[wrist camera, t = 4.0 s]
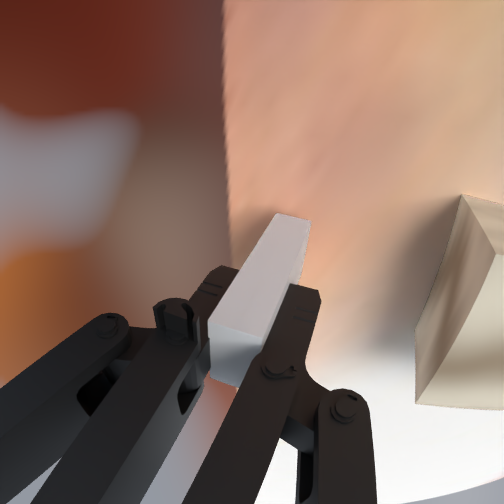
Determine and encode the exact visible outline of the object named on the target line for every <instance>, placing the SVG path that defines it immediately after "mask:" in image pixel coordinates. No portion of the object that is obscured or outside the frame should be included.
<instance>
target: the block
mask: <svg viewBox="0 0 504 504" xmlns="http://www.w3.org/2000/svg"><path fill="white" fill-rule="evenodd" d="M414 332H415V364H416V386H415V404H421V405H430V406H440V407H451V408H464V409H480V410H504V205H502V204H498V203H494V202H491V201H487V200H483V199H479V198H476V197H472V196H468V195H464V194H462V195H461V199H460V203H459V207H458V211H457V214H456V218H455V221H454V225H453V228H452V232H451V235H450V238H449V241H448V244H447V248H446V251H445V254H444V257H443V260H442V262H441V265H440V268H439V271H438V274H437V276H436V279H435V282H434V285H433V287H432V290H431V292H430V295H429V297H428V300H427V302H426V305H425V307H424V310H423V312H422V314H421V317H420V319H419V321H418V324H417V326H416V328H415V331H414Z"/></svg>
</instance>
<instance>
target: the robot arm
mask: <svg viewBox="0 0 504 504" xmlns="http://www.w3.org/2000/svg"><path fill="white" fill-rule="evenodd" d="M311 222H312V221H310V220H305V219H301V218H297V217H293V216H288V215H284V214H280V213H276V214H275V216H274V217H273V219H272V221H271V222H270V224H269V225H268V227H267V228H266V230H265V232H264V233H263V235H262V236H261V238H260V239H259V241H258V242H257V244H256V246H255V247H254V249H253V250H252V252H251V253H250V255H249V257H248V258H247V260H246V261H245V263H244V264H243V266H242V268H241V269H240V270H237V269H233V268H230V267H226V266H219V267H218V268H216V269H214V270H212V271H211V272H210V273H209V274H208V275H207V277H206V278H205V279H204V281H203V283H201V285H200V286H199V287H198V289H197V291H195V293H194V294H193V295H192V297H191V298H190V299H189V301H188V300H186V299H181V298H169V299H166V300H163V301H160V302H158V303H157V304H156V305H155V306H154V307H153V311H154V316H155V322H156V326H157V328H139V327H130V326H129V324H128V321H127V320H126V319H125V318H124V317H123V316H121V315H119V314H116V313H106V314H101V315H99V316H98V317H96V318H94V319H93V320H91V321H90V322H89V323H87V324H86V325H84V326H83V327H82V328H80V329H79V330H77V331H76V332H75V333H73V334H72V335H71V336H69V337H68V338H66V339H65V340H64V341H62V342H61V343H60V344H58V345H57V346H56V347H55V348H53V349H52V350H50V351H49V352H48V353H46V354H45V355H44V356H42V357H41V358H40V359H38V360H37V361H36V362H34V363H33V364H32V365H30V366H29V367H28V368H26V369H25V370H24V371H22V372H21V373H20V374H19V375H17V376H16V377H15V378H14V379H12V380H11V381H9V382H8V383H7V384H6V385H4V386H3V387H2V388H1V389H0V504H6V503H7V502H9V501H10V500H11V499H12V498H13V497H15V496H16V495H17V494H19V493H20V492H21V491H22V490H23V489H25V488H26V487H27V486H28V485H29V484H30V483H32V482H33V481H34V480H35V479H37V478H38V477H39V476H40V475H41V474H42V473H44V472H45V471H46V470H47V469H48V468H49V467H51V466H52V465H53V464H54V463H55V462H57V461H58V460H59V459H60V458H61V457H62V456H63V457H62V458H61V459H60V461H59V462H58V464H57V465H56V467H55V468H54V470H53V471H52V472H51V474H50V475H49V477H48V478H47V480H46V481H45V483H44V484H43V486H42V487H41V489H40V490H39V492H38V493H37V495H36V496H35V497H34V499H33V500H32V502H31V503H30V504H140V502H141V500H142V499H143V497H144V495H145V494H146V492H147V490H148V488H149V487H150V485H151V483H152V481H153V480H154V478H155V476H156V474H157V473H158V471H159V469H160V467H161V466H162V464H163V462H164V460H165V458H166V457H167V455H168V453H169V451H170V450H171V448H172V446H173V444H174V442H175V441H176V439H177V437H178V435H179V433H180V432H181V430H182V428H183V426H184V424H185V423H186V421H187V419H188V417H189V415H190V414H191V412H192V410H193V408H194V406H195V404H196V402H197V401H198V399H199V397H200V395H201V393H202V391H203V388H204V378H205V377H206V375H207V373H208V371H209V370H210V378H212V379H215V380H218V381H221V382H224V383H226V384H229V385H232V386H235V387H238V388H239V389H238V392H237V394H236V396H235V398H234V400H233V402H232V404H231V406H230V408H229V411H228V413H227V415H226V417H225V419H224V421H223V423H222V425H221V427H220V429H219V431H218V433H217V435H216V438H215V439H214V441H213V443H212V445H211V447H210V449H209V452H208V454H207V456H206V457H205V459H204V461H203V463H202V465H201V467H200V469H199V471H198V473H197V475H196V477H195V479H194V481H193V483H192V485H191V487H190V489H189V491H188V493H187V495H186V496H185V498H184V500H183V502H182V504H254V502H255V500H256V498H257V495H258V493H259V490H260V488H261V485H262V483H263V480H264V478H265V475H266V473H267V470H268V467H269V465H270V462H271V459H272V457H273V454H274V451H275V449H276V446H277V443H278V441H279V438H281V439H283V440H284V441H286V442H287V443H289V444H290V445H292V446H293V447H295V448H296V449H298V459H297V481H296V499H295V504H377V491H376V475H375V461H374V449H373V439H372V429H371V420H370V411H369V408H368V405H367V402H366V401H365V400H364V399H363V397H362V396H361V395H359V394H358V393H356V392H354V391H352V390H348V389H336V390H332V391H329V390H328V389H326V388H324V387H322V386H321V385H319V384H318V383H317V382H315V381H314V380H313V379H312V378H311V377H310V375H309V374H308V372H307V370H306V366H305V359H306V355H307V351H308V348H309V344H310V341H311V337H312V334H313V330H314V327H315V323H316V320H317V316H318V312H319V308H320V305H321V299H320V295H319V292H318V290H315V289H311V288H307V287H304V286H300V285H297V284H298V281H299V279H300V276H301V273H302V268H303V263H304V258H305V253H306V248H307V243H308V238H309V232H310V227H311Z"/></svg>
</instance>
